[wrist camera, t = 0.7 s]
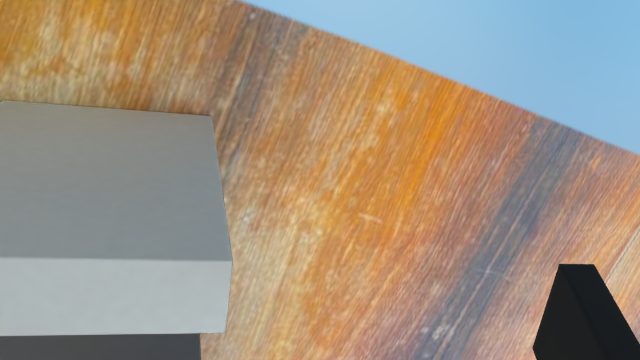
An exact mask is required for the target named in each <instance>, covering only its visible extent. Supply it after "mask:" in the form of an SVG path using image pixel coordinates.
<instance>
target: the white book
mask: <svg viewBox="0 0 640 360" xmlns="http://www.w3.org/2000/svg"><path fill="white" fill-rule="evenodd" d="M232 266H233V259H232V252H231V245H230V238H229V232H228V225H227V218H226V211H225V204H224V197H223V190H222V183H221V176H220V170H219V163H218V156H217V149H216V142H215V135H214V128H213V121H212V116H205V115H192V114H179V113H165V112H152V111H139V110H126V109H113V108H99V107H86V106H73V105H60V104H47V103H34V102H20V101H7V100H3V101H2V102H1V103H0V336H37V335H109V334H182V333H225V331H226V324H227V315H228V305H229V295H230V286H231V276H232Z"/></svg>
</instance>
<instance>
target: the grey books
mask: <svg viewBox="0 0 640 360" xmlns="http://www.w3.org/2000/svg"><path fill="white" fill-rule="evenodd" d="M0 360H201V350H200V333H182V334H109V335H37V336H0Z"/></svg>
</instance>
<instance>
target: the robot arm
mask: <svg viewBox="0 0 640 360" xmlns="http://www.w3.org/2000/svg"><path fill="white" fill-rule="evenodd" d="M533 351H534V354H535V356H536V359H537V360H640V344H639V342H638V341H637V339H636V337H635V335H634V334H633V332H632V330H631V328H630V327H629V325H628V323H627V321H626V320H625V318H624V316H623V314H622V313H621V311H620V309H619V307H618V306H617V304H616V302H615V300H614V299H613V297H612V295H611V293H610V292H609V290H608V288H607V286H606V285H605V283H604V281H603V279H602V278H601V276H600V274H599V272H598V271H597V269H596V267H595V265H594V264H559V267H558V270H557V273H556V276H555V279H554V282H553V286H552V289H551V292H550V295H549V298H548V301H547V304H546V307H545V311H544V314H543V317H542V320H541V323H540V326H539V329H538V332H537V336H536V339H535V342H534V345H533Z"/></svg>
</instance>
